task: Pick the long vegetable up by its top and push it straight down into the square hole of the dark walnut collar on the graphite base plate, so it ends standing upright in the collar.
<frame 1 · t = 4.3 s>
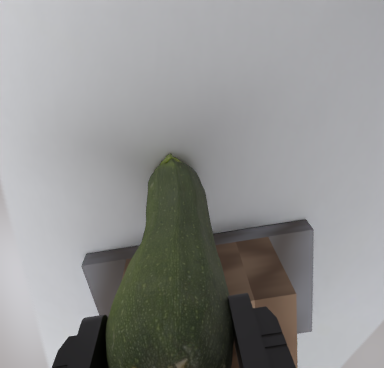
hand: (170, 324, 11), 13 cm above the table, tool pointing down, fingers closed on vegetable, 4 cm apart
vegetable: (171, 176, 23), on the table, touching gripper
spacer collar: (204, 288, 28), on the table
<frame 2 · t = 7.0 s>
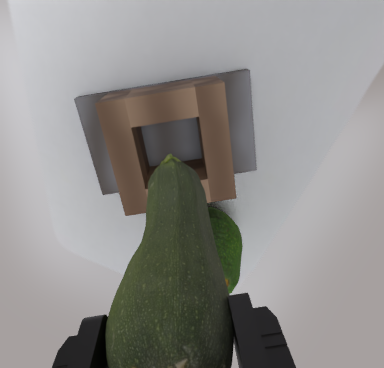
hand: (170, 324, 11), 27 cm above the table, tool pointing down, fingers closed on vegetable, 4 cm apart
avocado: (202, 220, 40), on the table
vegetable: (171, 175, 23), point 13 cm above the table, touching gripper
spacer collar: (171, 133, 35), on the table
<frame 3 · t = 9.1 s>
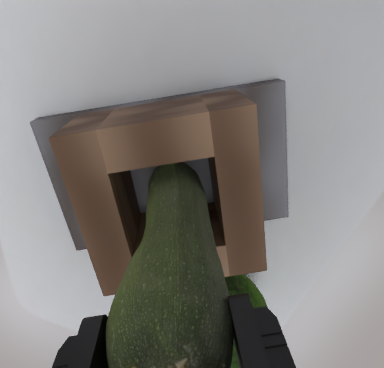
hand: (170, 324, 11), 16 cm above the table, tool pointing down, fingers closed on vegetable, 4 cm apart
avocado: (212, 276, 31), on the table
vegetable: (171, 175, 23), point 2 cm above the table, touching gripper
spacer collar: (170, 166, 25), on the table
when the fingers open (16 cm above the table, at t = 9.8 s): vegetable stays where it is, resting on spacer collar.
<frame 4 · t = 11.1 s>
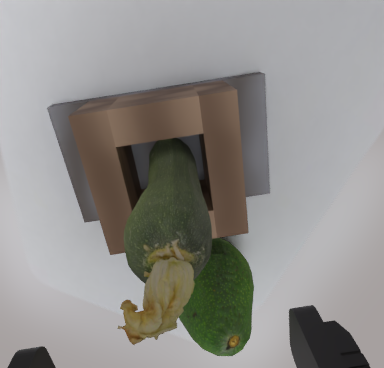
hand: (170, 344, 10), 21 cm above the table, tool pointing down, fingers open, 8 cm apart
avocado: (204, 249, 34), on the table
vegetable: (168, 151, 28), point 1 cm above the table, touching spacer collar
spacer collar: (167, 148, 29), on the table
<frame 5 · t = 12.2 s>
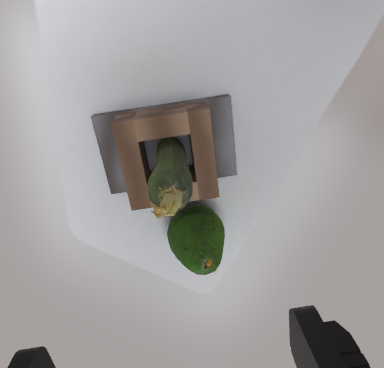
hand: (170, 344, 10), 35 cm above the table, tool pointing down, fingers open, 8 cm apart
avocado: (193, 215, 49), on the table
vegetable: (168, 146, 42), point 1 cm above the table, touching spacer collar
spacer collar: (167, 144, 44), on the table
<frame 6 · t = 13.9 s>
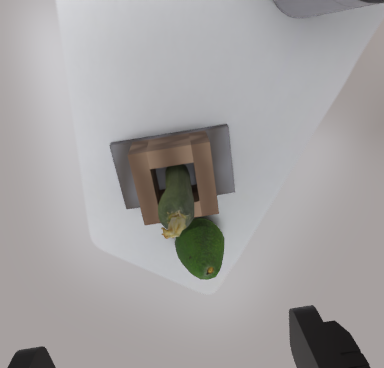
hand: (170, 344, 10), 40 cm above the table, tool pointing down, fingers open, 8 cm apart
avocado: (197, 226, 56), on the table
vegetable: (175, 168, 49), point 1 cm above the table, touching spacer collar
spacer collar: (175, 166, 51), on the table
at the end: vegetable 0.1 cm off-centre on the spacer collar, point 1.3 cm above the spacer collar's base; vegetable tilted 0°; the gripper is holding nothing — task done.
